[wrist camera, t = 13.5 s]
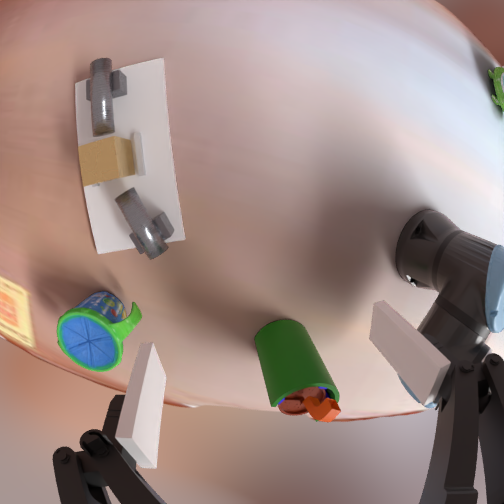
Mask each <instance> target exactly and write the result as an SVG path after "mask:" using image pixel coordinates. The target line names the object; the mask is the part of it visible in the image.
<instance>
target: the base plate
mask: <svg viewBox="0 0 504 504" xmlns="http://www.w3.org/2000/svg"><path fill="white" fill-rule="evenodd" d="M116 70H120V71H121V72H122V73H123V74H124V75H125V76H127V95H124V96H121V97H117V98H114V99H113V114H114V126H115V132H114V133H112V134H109V135H105V136H100V137H93V133H92V120H91V101H88V100H86V80H88V79H90V78H88V79H85V80H82V81H80V82H77V83H75V98H76V123H77V137H78V147H79V146H82V145H85V144H88V143H91V142H94V141H98V140H101V139H105V138H108V137H112V136H117V137H121V138H125V139H129V140H131V145H132V154H133V162H134V169H135V175H132V176H127V177H123V178H119V179H114V180H110V181H106V182H102V183H97V184H93V185H89V186H85V187H84V192H85V198H86V203H87V209H88V214H89V218H90V223H91V228H92V232H93V236H94V240H95V245H96V248H97V252H98V254H103V253H108V252H114V251H120V250H126V249H132V248H136V246H135V245H134V243H133V242H132V240H131V238H130V237H129V235H130V234H131V233H132V230H131V229H130V227H129V225H128V223H127V222H126V220H125V218H124V216H123V215H122V213H121V211H120V209H119V208H118V206H117V204H116V202H115V200H114V199H115V198H116V197H118V196H119V195H121V194H122V193H124V192H125V191H127V190H129V189H131V188H133V187H134V188H135V190H136V192H137V193H138V195H139V197H140V199H141V201H142V202H143V204H144V206H145V208H146V210H147V211H148V213H149V215H150V217H151V218H152V219H153V218H154V217H156V216H158V215H160V214H161V213H163V212H165V214H166V216H167V217H168V219H169V221H170V223H171V224H172V226H173V228H174V232H173V234H172V236H171V237H170V238H168V239H166V240H164V241H165V242H166V243H168V242H174V241H181V240H185V232H184V226H183V220H182V214H181V208H180V202H179V195H178V189H177V182H176V175H175V167H174V160H173V152H172V144H171V135H170V126H169V116H168V105H167V94H166V81H165V65H164V58H159V59H154V60H150V61H145V62H141V63H137V64H133V65H129V66H126V67H122V68H119V69H115V70H112V71H116Z"/></svg>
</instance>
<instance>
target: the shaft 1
mask: <svg viewBox="0 0 504 504" xmlns="http://www.w3.org/2000/svg"><path fill="white" fill-rule="evenodd" d="M124 95H127V76H125V75H124V74H123V73H122V72H121V71H120V70H116V71H112V60H111V59H109V58H101V59H97V60H95V61H93V62H92V63H91V64H90V79H88V80H86V100H88V101H91V120H92V133H93V137H100V136H105V135H109V134H112V133H114V132H115V126H114V114H113V99H114V98H117V97H121V96H124Z"/></svg>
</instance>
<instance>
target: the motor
mask: <svg viewBox="0 0 504 504" xmlns="http://www.w3.org/2000/svg"><path fill="white" fill-rule="evenodd" d="M254 340H255V344H256V348H257V352H258V356H259V360H260V364H261V368H262V372H263V376H264V380H265V384H266V388H267V392H268V396H269V400H270V404H271V407H276V406H277V404H278V407H279V410H280V411H281V412H282V413H284V414H287V415H302V414H305V413H308V412H309V413H310V415H311V416H312V417H313V418H314V419H315V420H316V422H317V421H324V422H330V421H332V420H333V419H334V418H335V417H336V416H337V415H338V414H339V413H340V412H341V410H340V408H339V406H338V404H337V403H338V401H339V392H338V390H337V388H336V386H335V384H334V382H333V380H332V378H331V376H330V374H329V372H328V370H327V369H326V367H325V365H324V363H323V361H322V359H321V357H320V355H319V353H318V351H317V349H316V348H315V346H314V344H313V342H312V340H311V338H310V336H309V334H308V332H307V331H306V329H305V327H304V326H303V325H302V324H300V323H298V322H296V321H293V320H279V321H275V322H272V323H270V324H268V325H266V326H265V327H263V328H262V329H261V330H260V331H259V332H258V333H257V335H256V336H255V339H254Z"/></svg>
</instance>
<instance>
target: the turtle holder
mask: <svg viewBox="0 0 504 504" xmlns="http://www.w3.org/2000/svg"><path fill="white" fill-rule="evenodd" d="M488 74H489V77H490V78H491V79H493V82H494V87H495V91H496V95H497V97H496V96H495V95H493V94H492V100H493V102H494V103H495V104H497V105H500V106H501V108H502V109H503V111H504V66H503V67H501V68H500V67H496V68H495V69H494V73H492V72H491V70H489V69H488Z"/></svg>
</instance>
